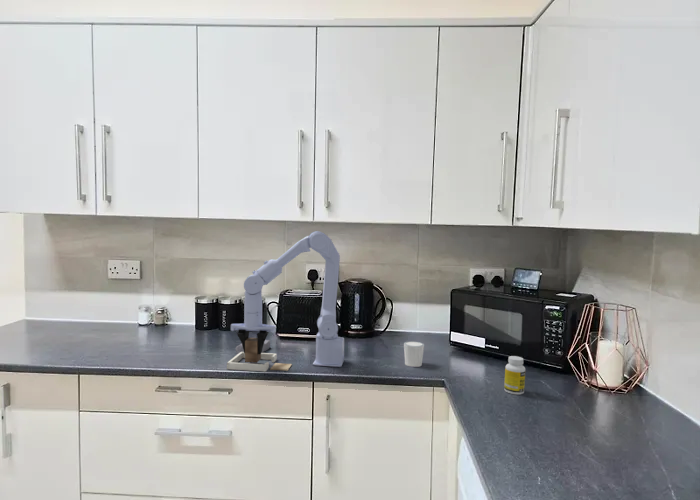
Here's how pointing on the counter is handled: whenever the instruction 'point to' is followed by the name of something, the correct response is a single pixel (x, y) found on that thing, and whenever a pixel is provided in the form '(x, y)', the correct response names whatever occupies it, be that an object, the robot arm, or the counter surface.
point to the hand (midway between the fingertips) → (253, 352)
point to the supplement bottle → (514, 376)
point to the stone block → (265, 347)
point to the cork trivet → (281, 366)
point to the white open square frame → (251, 367)
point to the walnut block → (252, 350)
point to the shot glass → (413, 353)
